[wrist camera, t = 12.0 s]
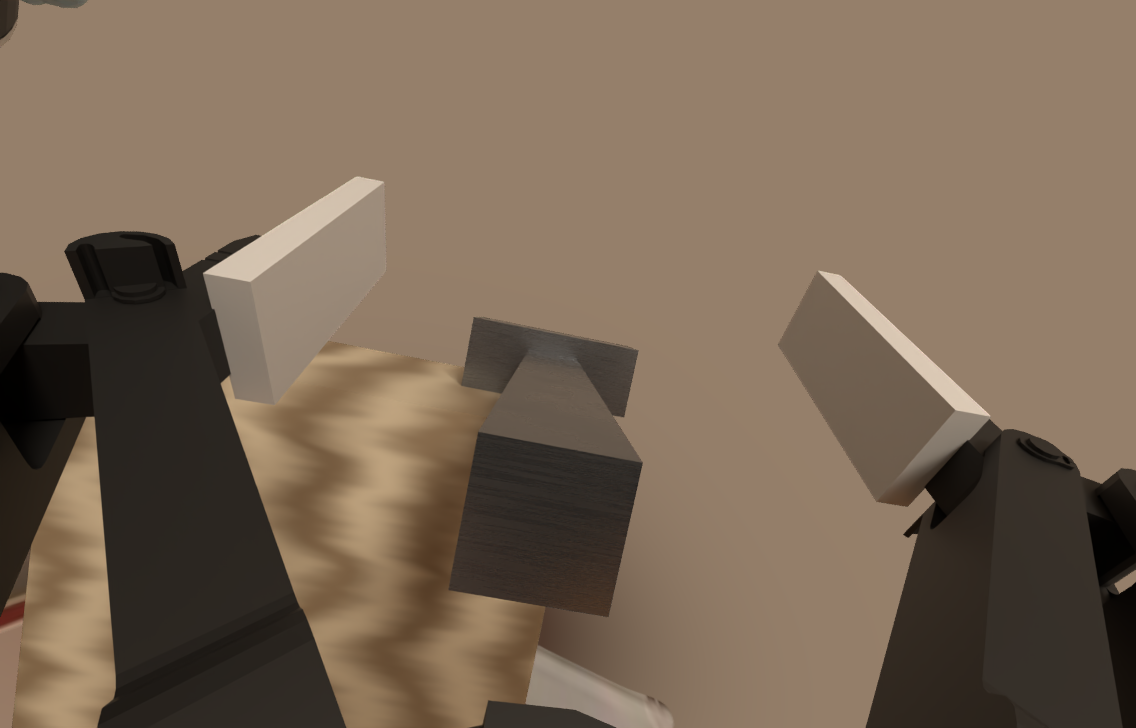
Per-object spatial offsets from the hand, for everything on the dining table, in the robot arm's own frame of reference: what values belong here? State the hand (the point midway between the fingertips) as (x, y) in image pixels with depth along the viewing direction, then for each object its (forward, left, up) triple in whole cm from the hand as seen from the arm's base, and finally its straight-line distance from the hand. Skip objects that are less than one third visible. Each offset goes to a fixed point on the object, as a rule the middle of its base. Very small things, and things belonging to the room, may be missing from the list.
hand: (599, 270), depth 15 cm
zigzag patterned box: (-12, +20, -38) cm, 45 cm away
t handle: (0, +9, -8) cm, 12 cm away
